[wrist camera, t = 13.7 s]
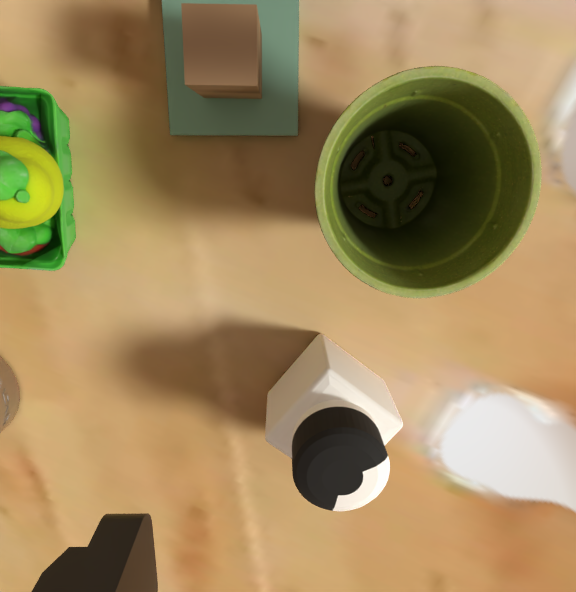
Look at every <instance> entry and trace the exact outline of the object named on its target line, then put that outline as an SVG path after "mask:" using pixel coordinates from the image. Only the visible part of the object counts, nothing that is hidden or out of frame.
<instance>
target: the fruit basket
mask: <svg viewBox="0 0 576 592" xmlns="http://www.w3.org/2000/svg"><path fill="white" fill-rule="evenodd" d="M69 139H70V131H69V119H68V117H67V116H66V115H65V114H64V112H63V111H62V110H61V109H60V108H59V107H58V105H57V103H56V101H55V99H54V98H53V96H52V95H51V94H50V93H49V92H48V91H46V90H44V89H40V88H20V87H6V86H0V268H19V269H33V270H48V271H55V270H58V269H60V268H61V267H62V266H63V265H64V263H65V261H66V258H67V253H68V251H69V249H70V247H71V245H72V244H73V242H74V240H75V238H76V232H75V220H74V218H73V215H72V213H73V208H74V200H73V187H72V185H71V182H70V178H71V174H72V165H71V153H70V150H69V147H68V143H69Z"/></svg>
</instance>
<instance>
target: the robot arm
mask: <svg viewBox="0 0 576 592" xmlns="http://www.w3.org/2000/svg"><path fill="white" fill-rule="evenodd" d="M19 401H20V394H19V387H18V383H17V380H16V377H15V375H14V373H13V372H12V370H11V368H10V367H9V366H8V364H7V363H6V362H5V361H4V359H3V358H2V357H0V433H1V432H2V431H3V430H4V429H5V428H6V427H7V426H8V424H9V423H10V422H11V421H12V420H13V418H14V416H15V414H16V412H17V410H18V406H19ZM157 591H158V583H157V571H156V560H155V549H154V539H153V528H152V520H151V517H150V515H149V514H106V515H104V516H103V518H102V519H101V521H100V523H99V525H98V527H97V529H96V531H95V533H94V535H93V537H92V539H91V541H90V543H89V545H88V547H69V548H68V549H67V550H66V551H65V552H64V553H63V554H62V555H61V556H59V557H58V558H57V559H56V560H55V561H54V562H53V563H52V564H51V565H50V566H49V567H48V568H47V569H46V570H45V571H44V572H43V573H42V574H41V576H40V578H39V580H38V581H37V583H36V585H35V587H34V588H33V590H32V592H157Z"/></svg>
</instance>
